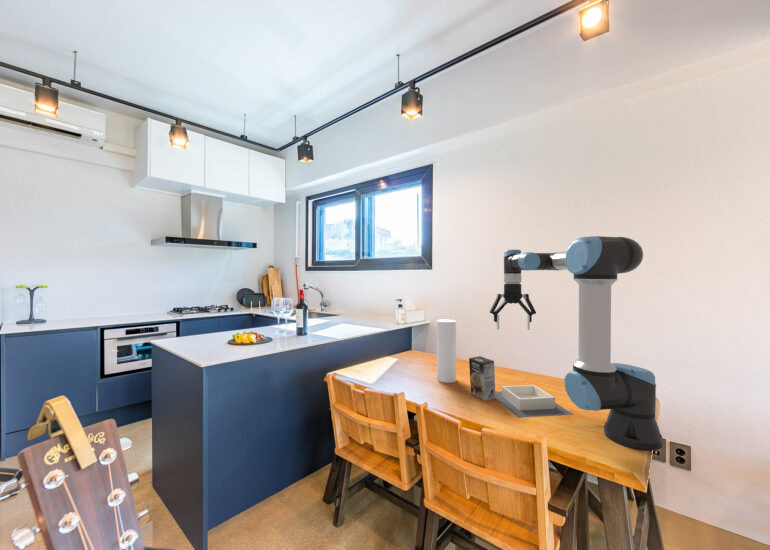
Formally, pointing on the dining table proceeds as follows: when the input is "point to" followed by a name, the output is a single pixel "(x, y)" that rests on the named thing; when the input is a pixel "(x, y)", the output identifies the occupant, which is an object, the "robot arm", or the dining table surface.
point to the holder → (528, 397)
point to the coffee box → (482, 377)
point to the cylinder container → (446, 350)
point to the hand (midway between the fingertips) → (512, 329)
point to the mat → (531, 413)
